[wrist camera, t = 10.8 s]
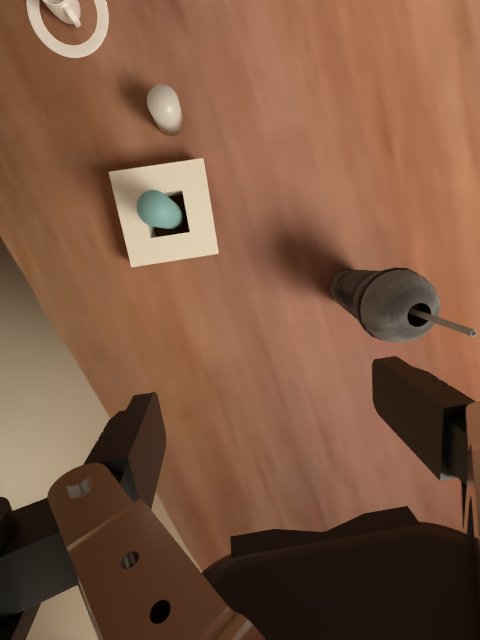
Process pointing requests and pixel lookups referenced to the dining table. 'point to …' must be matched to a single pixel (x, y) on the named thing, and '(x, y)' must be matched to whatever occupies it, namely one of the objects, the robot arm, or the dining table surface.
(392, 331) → the beverage cup
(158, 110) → the short pin
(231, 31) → the dining table surface
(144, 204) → the long pin
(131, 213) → the hole block
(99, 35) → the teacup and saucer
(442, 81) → the dining table surface
